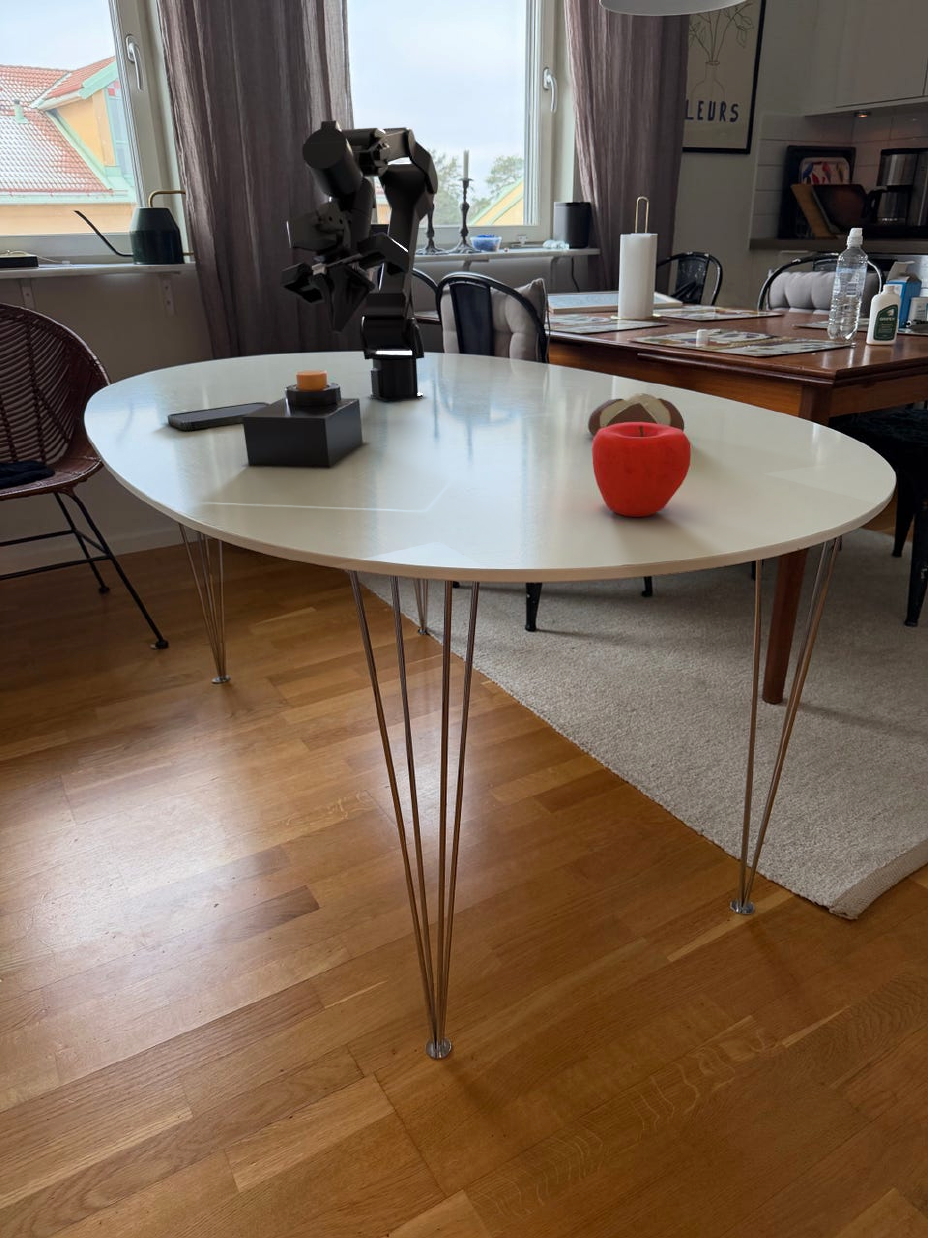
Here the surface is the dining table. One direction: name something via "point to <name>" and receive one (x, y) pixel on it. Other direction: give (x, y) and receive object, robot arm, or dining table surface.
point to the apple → (639, 466)
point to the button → (311, 380)
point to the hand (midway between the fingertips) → (335, 331)
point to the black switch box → (304, 429)
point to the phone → (213, 416)
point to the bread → (635, 412)
